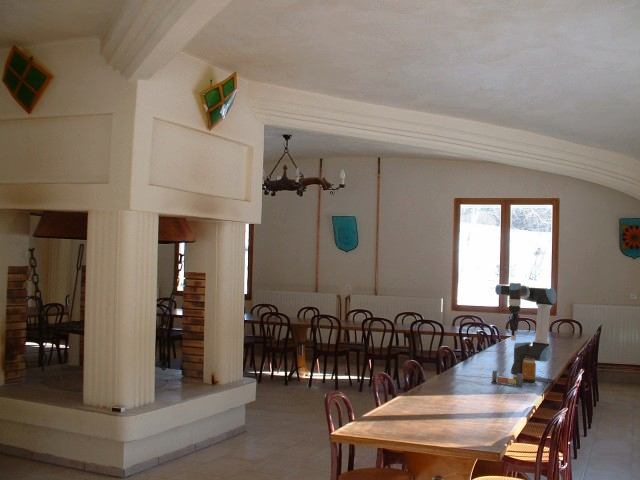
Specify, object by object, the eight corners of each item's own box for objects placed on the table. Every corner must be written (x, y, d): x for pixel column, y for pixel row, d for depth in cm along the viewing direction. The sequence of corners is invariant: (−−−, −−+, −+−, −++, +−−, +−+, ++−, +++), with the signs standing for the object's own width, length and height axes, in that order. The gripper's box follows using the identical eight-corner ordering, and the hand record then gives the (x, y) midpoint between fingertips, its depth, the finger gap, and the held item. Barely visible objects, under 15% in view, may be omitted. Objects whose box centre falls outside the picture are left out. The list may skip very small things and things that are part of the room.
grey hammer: (510, 384, 465) (510, 372, 465) (522, 386, 460) (522, 374, 460) (507, 385, 462) (508, 373, 462) (520, 387, 457) (520, 374, 457)
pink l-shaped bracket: (498, 382, 470) (498, 373, 470) (517, 385, 462) (517, 376, 462) (497, 382, 468) (497, 373, 468) (516, 385, 460) (516, 376, 460)
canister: (535, 383, 474) (536, 353, 474) (518, 382, 476) (519, 352, 476) (534, 381, 482) (535, 352, 483) (517, 380, 485) (518, 351, 485)
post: (492, 381, 473) (493, 370, 473) (498, 382, 471) (498, 370, 471) (490, 382, 470) (490, 370, 470) (495, 383, 468) (496, 371, 468)
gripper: (513, 304, 483) (512, 339, 482) (505, 305, 473) (504, 340, 472) (523, 305, 478) (522, 340, 478) (516, 306, 468) (515, 341, 467)
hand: (513, 340), depth 475 cm, fingers closed
